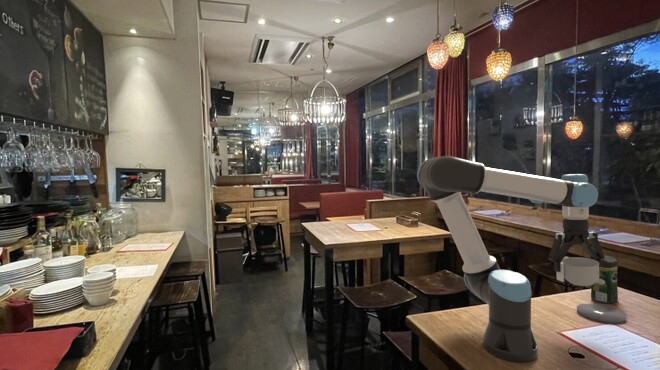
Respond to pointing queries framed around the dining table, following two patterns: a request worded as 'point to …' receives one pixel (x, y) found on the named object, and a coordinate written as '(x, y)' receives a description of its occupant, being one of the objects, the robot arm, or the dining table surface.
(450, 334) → the dining table surface
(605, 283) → the coffee jar
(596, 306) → the charcoal plate
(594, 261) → the teacup
